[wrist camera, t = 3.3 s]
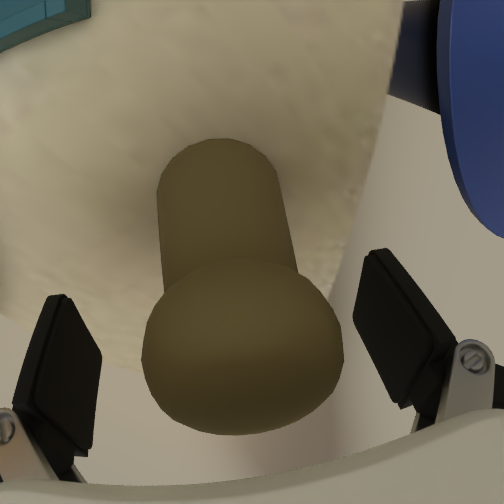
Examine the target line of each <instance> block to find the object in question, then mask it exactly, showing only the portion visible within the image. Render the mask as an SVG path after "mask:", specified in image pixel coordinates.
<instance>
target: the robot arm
mask: <svg viewBox="0 0 504 504" xmlns="http://www.w3.org/2000/svg"><path fill="white" fill-rule="evenodd" d="M353 322H354V325H355V327H356V329H357V331H358V333H359V334H360V336H361V339H362V341H363V343H364V344H365V347H366V348H367V351H368V353H369V355H370V357H371V359H372V361H373V363H374V365H375V367H376V369H377V370H378V373H379V375H380V377H381V379H382V381H383V383H384V385H385V387H386V390H387V391H388V394H389V396H390V398H391V400H392V401H393V402H394V403H398V406H399V407H400V409H403V408H406V407H409V406H411V405H413V406H414V408H415V410H416V416H415V419H414V422H413V426H412V429H411V432H410V434H409V435H407V436H405V437H402V438H399V439H396V440H393V441H391V442H388V443H385V444H382V445H379V446H377V447H374V448H371V449H368V450H365V451H362V452H359V453H356V454H352V455H349V456H346V457H342V458H339V459H336V460H332V461H328V462H325V463H320V464H316V465H312V466H308V467H304V468H300V469H296V470H291V471H286V472H281V473H276V474H270V475H265V476H259V477H253V478H247V479H240V480H231V481H223V482H214V483H203V484H190V485H171V486H123V485H102V484H88V483H87V482H86V480H85V479H84V477H83V476H82V475H81V473H80V472H79V471H78V469H77V468H76V466H75V465H74V456H81V457H88V449H91V447H92V444H93V431H94V420H95V411H96V401H97V394H98V386H99V379H100V372H101V365H102V354H101V351H100V349H99V348H98V346H97V344H96V343H95V341H94V339H93V337H92V336H91V334H90V332H89V330H88V329H87V327H86V325H85V323H84V321H83V320H82V318H81V316H80V314H79V312H78V310H77V308H76V306H75V304H74V302H73V301H72V299H71V298H68V297H67V296H66V295H65V294H59V295H51V296H48V297H47V299H46V301H45V303H44V306H43V308H42V311H41V314H40V316H39V319H38V321H37V324H36V327H35V330H34V332H33V335H32V338H31V341H30V344H29V347H28V350H27V353H26V356H25V359H24V362H23V365H22V369H21V372H20V375H19V379H18V382H17V386H16V389H15V393H14V397H13V401H12V404H13V408H12V410H11V409H9V408H0V504H504V367H503V366H500V365H498V364H495V360H494V356H493V354H492V352H491V350H490V349H489V348H488V347H487V346H486V345H485V344H484V343H482V342H480V341H478V340H473V339H467V340H464V341H462V342H460V343H459V344H458V342H457V341H456V338H455V336H454V335H453V333H452V332H451V330H450V329H449V328H448V326H447V325H446V323H445V322H444V320H443V319H442V318H441V316H440V315H439V313H438V312H437V311H436V309H435V308H434V307H433V305H432V304H431V302H430V301H429V300H428V298H427V297H426V296H425V294H424V293H423V292H422V290H421V289H420V288H419V287H418V285H417V284H416V283H415V281H414V280H413V279H412V277H411V276H410V275H409V274H408V272H407V271H406V270H405V269H404V267H403V266H402V265H401V264H400V262H399V261H398V260H397V259H396V257H395V256H394V255H393V254H392V252H391V251H390V250H389V249H387V248H383V249H377V250H371V251H370V252H369V254H368V256H365V258H364V262H363V268H362V273H361V278H360V283H359V288H358V292H357V297H356V302H355V306H354V311H353Z"/></svg>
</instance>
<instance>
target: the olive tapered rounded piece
mask: <svg viewBox="0 0 504 504" xmlns="http://www.w3.org/2000/svg"><path fill="white" fill-rule="evenodd" d="M157 205H158V222H159V238H160V251H161V263H162V274H163V284H164V294H163V296H162V297H161V298H160V300H159V301H158V302H157V304H156V305H155V307H154V309H153V311H152V313H151V315H150V317H149V319H148V321H147V326H146V331H145V336H144V341H143V348H142V357H141V361H142V366H143V371H144V375H145V379H146V382H147V385H148V387H149V390H150V392H151V395H152V396H153V398H154V399H155V400H156V402H157V403H158V405H159V407H160V408H161V409H162V410H163V411H164V412H165V413H166V414H167V415H168V416H170V417H171V418H172V419H173V420H175V421H177V422H179V423H181V424H183V425H186V426H188V427H191V428H193V429H195V430H198V431H201V432H206V433H211V434H217V435H247V434H256V433H262V432H266V431H270V430H274V429H278V428H281V427H283V426H286V425H289V424H291V423H293V422H296V421H298V420H300V419H301V418H303V417H304V416H306V415H308V414H309V413H311V412H313V411H314V410H315V409H316V408H317V407H319V406H320V405H321V404H322V403H323V402H324V401H325V400H326V399H327V398H328V397H329V396H330V395H331V394H332V393H333V391H334V389H335V387H336V385H337V383H338V380H339V378H340V374H341V371H342V367H343V363H344V353H343V342H342V334H341V326H340V323H339V321H338V320H337V317H336V315H335V313H334V311H333V309H332V307H331V306H330V305H329V303H328V302H327V300H326V299H325V298H324V296H323V295H322V293H321V292H320V291H319V290H318V289H317V288H316V287H315V286H314V285H313V283H312V282H311V281H310V280H309V279H307V278H306V277H304V276H302V275H301V274H299V273H298V269H297V264H296V260H295V255H294V250H293V245H292V240H291V236H290V231H289V226H288V222H287V217H286V213H285V208H284V204H283V199H282V195H281V190H280V186H279V182H278V178H277V175H276V171H275V170H274V168H273V167H272V165H271V164H270V162H269V161H268V159H267V158H266V157H265V156H264V155H263V154H262V153H260V152H259V151H257V150H256V149H255V148H253V147H252V146H250V145H249V144H245V143H242V142H239V141H236V140H232V139H208V140H205V141H202V142H199V143H196V144H193V145H190V146H188V147H187V148H185V149H184V150H183V151H181V152H180V153H179V154H177V155H176V156H175V157H174V158H172V160H171V161H170V163H169V164H168V166H167V167H166V168H165V170H164V171H163V173H162V174H161V178H160V182H159V186H158V190H157Z"/></svg>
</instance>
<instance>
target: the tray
mask: <svg viewBox="0 0 504 504" xmlns="http://www.w3.org/2000/svg"><path fill="white" fill-rule="evenodd" d="M90 17H91V12H90V0H0V53H1V52H3V51H5V50H7V49H9V48H11V47H14V46H16V45H18V44H20V43H22V42H25V41H27V40H29V39H31V38H34V37H36V36H39V35H41V34H44V33H46V32H49V31H51V30H54V29H57V28H60V27H62V26H65V25H68V24H71V23H74V22H77V21H80V20H83V19H86V18H90Z"/></svg>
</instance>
